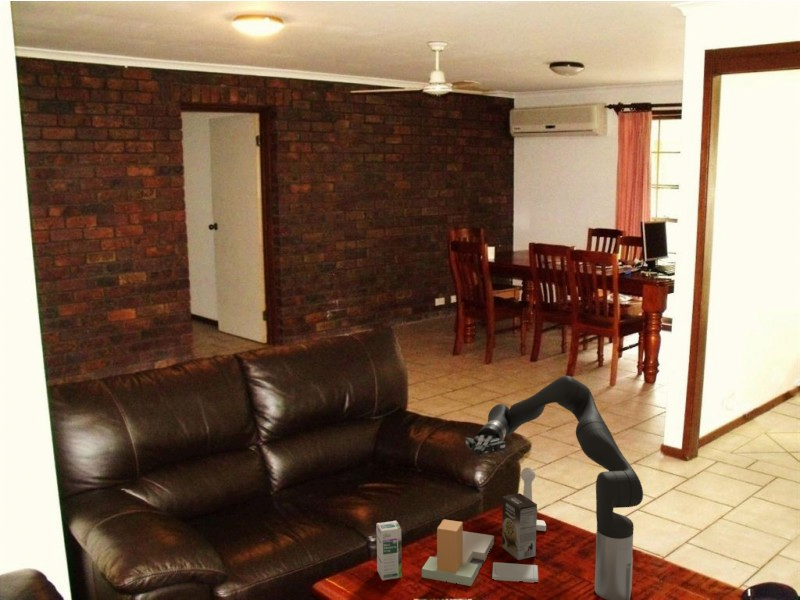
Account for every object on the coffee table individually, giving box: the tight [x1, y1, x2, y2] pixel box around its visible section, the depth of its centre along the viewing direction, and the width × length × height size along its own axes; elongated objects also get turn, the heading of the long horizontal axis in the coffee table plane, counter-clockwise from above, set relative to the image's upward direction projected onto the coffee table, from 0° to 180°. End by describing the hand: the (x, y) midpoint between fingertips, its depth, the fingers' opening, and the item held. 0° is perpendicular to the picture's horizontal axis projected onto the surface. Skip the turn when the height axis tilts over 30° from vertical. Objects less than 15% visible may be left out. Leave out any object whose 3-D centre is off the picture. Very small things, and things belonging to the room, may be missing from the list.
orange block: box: [436, 519, 464, 573], centre depth 214 cm, size 6×6×12 cm
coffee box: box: [501, 492, 538, 561], centre depth 226 cm, size 9×6×16 cm
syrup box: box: [375, 520, 403, 581], centre depth 214 cm, size 6×6×14 cm
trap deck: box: [421, 530, 495, 587], centre depth 223 cm, size 14×26×2 cm, turn 160°
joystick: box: [520, 467, 547, 532], centre depth 239 cm, size 11×8×20 cm
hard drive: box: [491, 561, 539, 583], centre depth 215 cm, size 2×8×12 cm
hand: (478, 452), depth 230 cm, fingers closed
